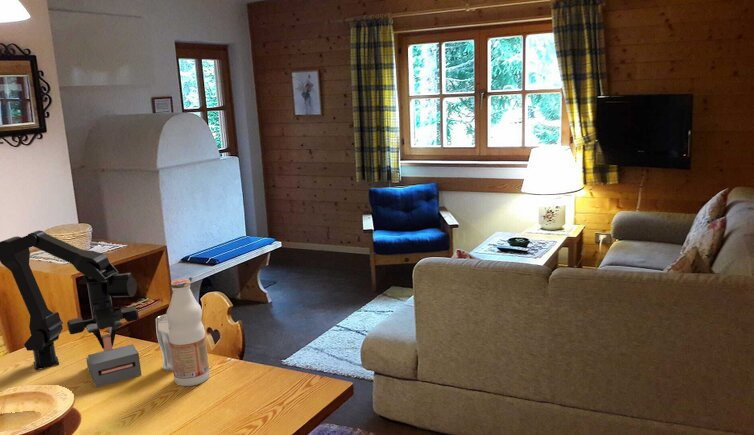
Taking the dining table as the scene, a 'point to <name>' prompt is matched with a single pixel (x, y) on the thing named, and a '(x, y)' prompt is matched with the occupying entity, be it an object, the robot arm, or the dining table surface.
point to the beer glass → (164, 341)
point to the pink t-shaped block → (108, 346)
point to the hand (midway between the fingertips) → (107, 347)
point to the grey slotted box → (111, 360)
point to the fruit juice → (187, 336)
